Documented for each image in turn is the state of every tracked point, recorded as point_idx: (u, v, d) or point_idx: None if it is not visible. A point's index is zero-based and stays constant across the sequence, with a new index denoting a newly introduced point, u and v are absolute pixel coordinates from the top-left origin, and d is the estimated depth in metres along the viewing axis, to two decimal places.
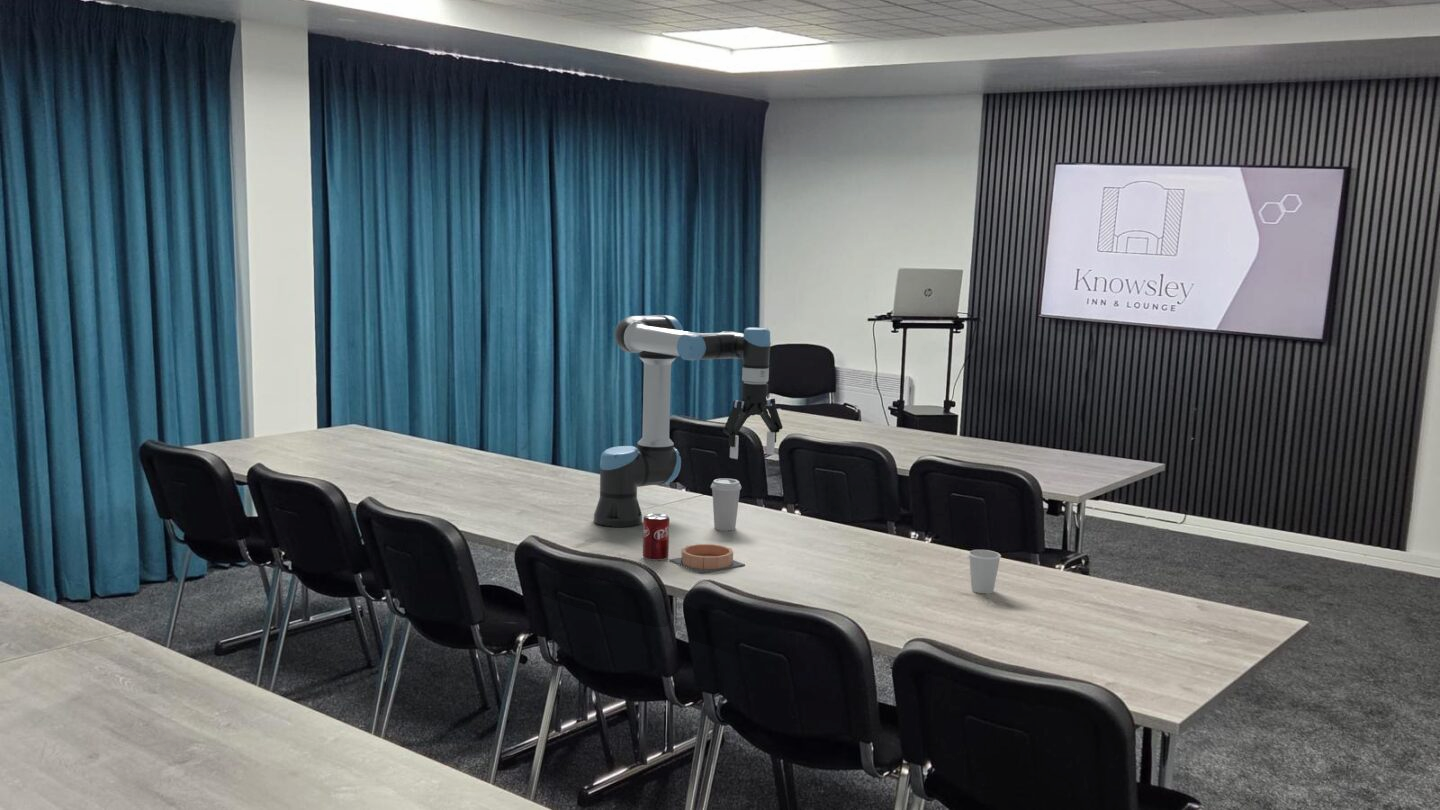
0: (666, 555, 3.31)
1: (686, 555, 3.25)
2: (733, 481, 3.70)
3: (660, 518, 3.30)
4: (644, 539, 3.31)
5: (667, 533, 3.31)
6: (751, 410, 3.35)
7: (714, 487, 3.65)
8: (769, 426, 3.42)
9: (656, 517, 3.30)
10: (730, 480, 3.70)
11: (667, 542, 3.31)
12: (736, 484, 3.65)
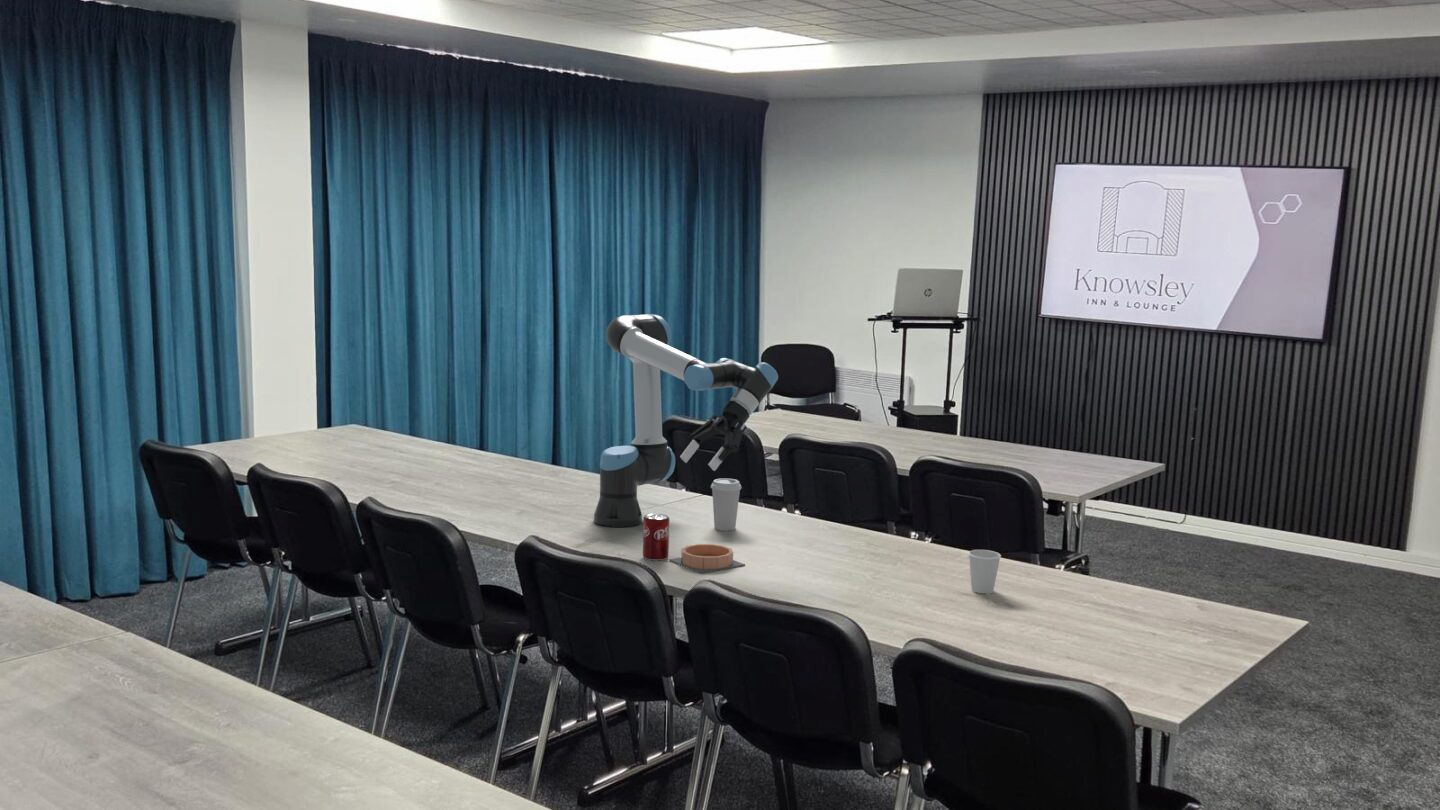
0: (666, 555, 3.31)
1: (686, 555, 3.25)
2: (733, 481, 3.70)
3: (660, 518, 3.30)
4: (644, 539, 3.31)
5: (667, 533, 3.31)
6: None
7: (714, 487, 3.65)
8: (701, 438, 3.45)
9: (656, 517, 3.30)
10: (730, 480, 3.70)
11: (667, 542, 3.31)
12: (736, 484, 3.65)
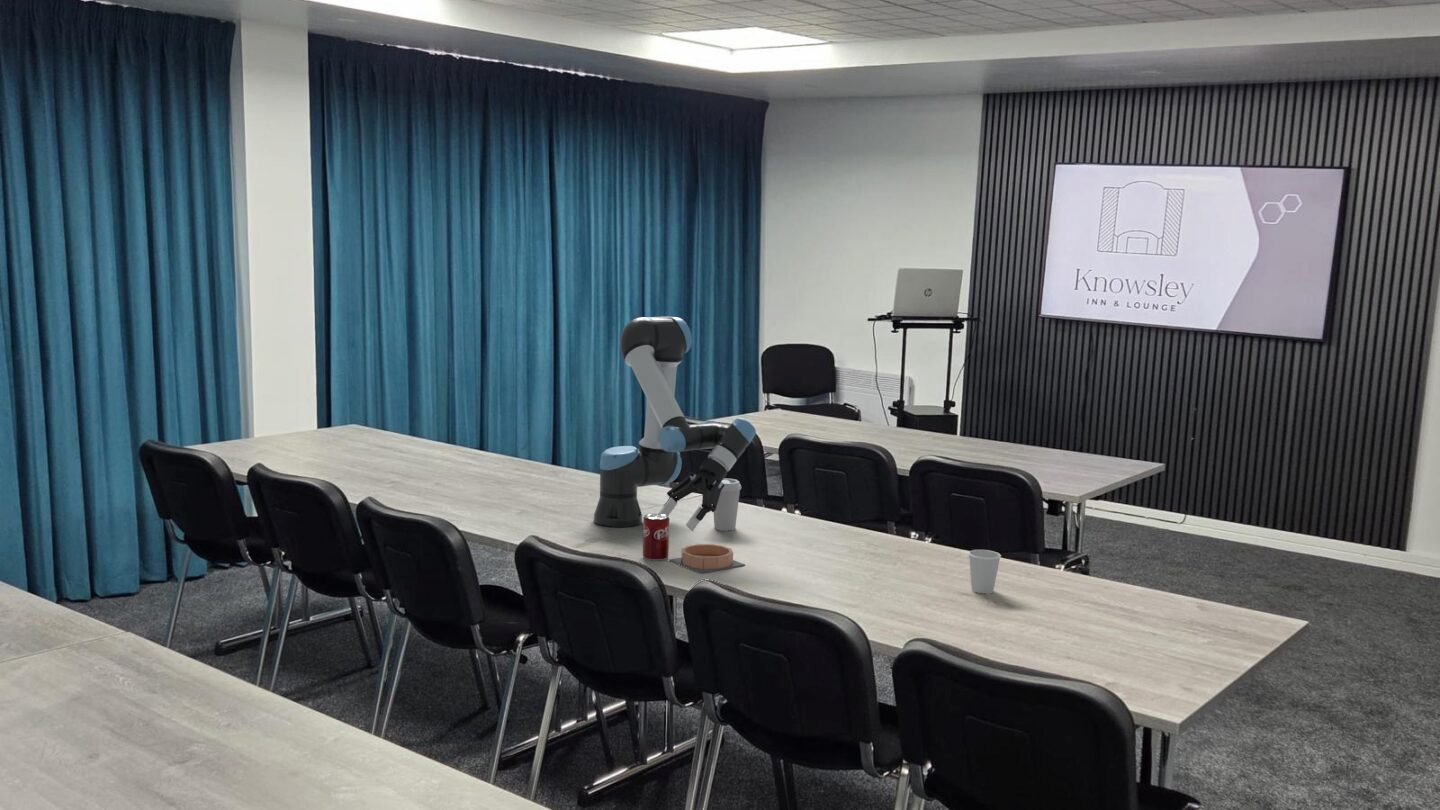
0: (666, 555, 3.31)
1: (686, 555, 3.25)
2: (733, 481, 3.70)
3: (660, 518, 3.30)
4: (644, 539, 3.31)
5: (667, 533, 3.31)
6: None
7: None
8: (678, 496, 3.41)
9: (656, 517, 3.30)
10: (730, 480, 3.70)
11: (667, 542, 3.31)
12: (736, 484, 3.65)
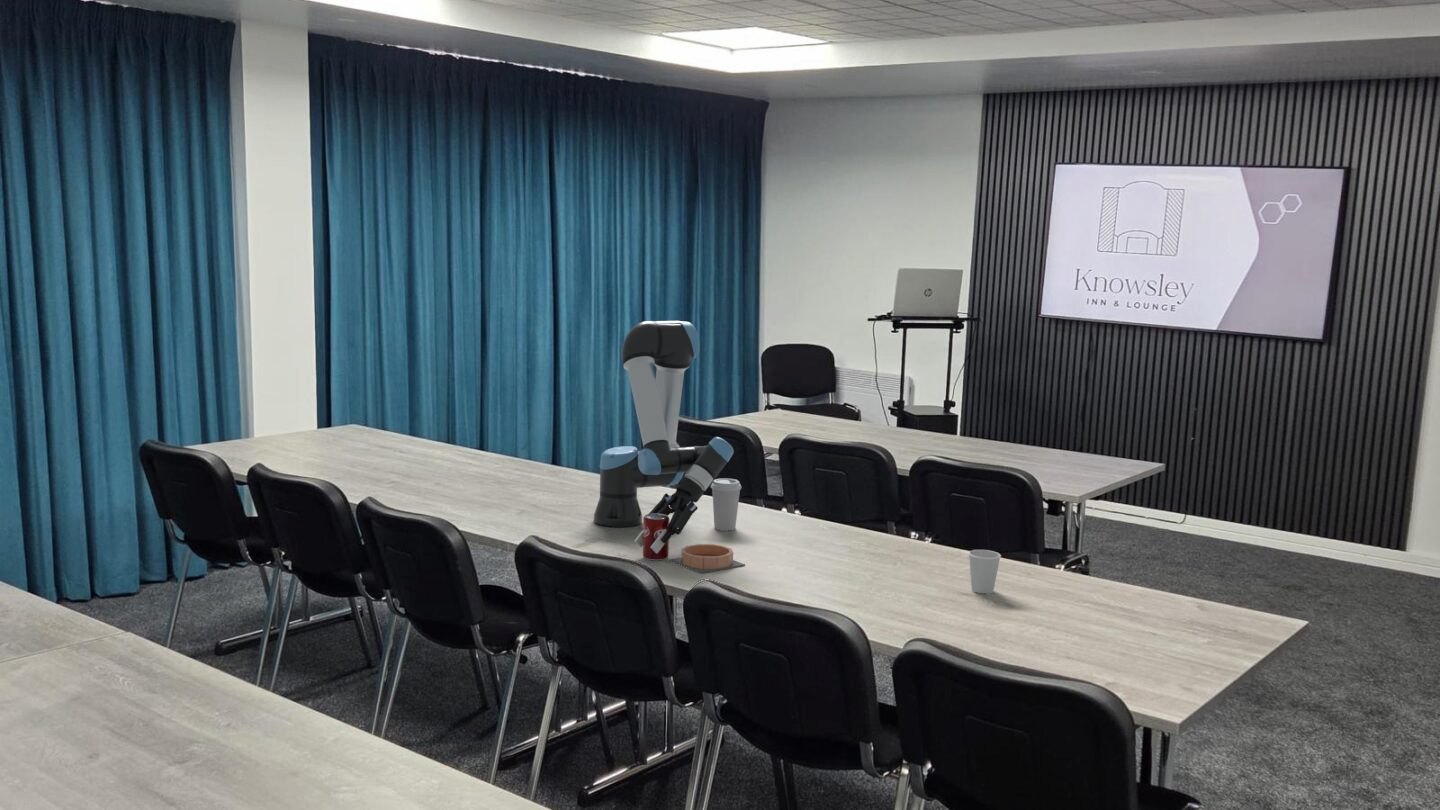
0: (666, 555, 3.31)
1: (686, 555, 3.25)
2: (733, 481, 3.70)
3: (660, 518, 3.30)
4: (644, 539, 3.31)
5: None
6: None
7: (714, 487, 3.65)
8: None
9: (656, 517, 3.30)
10: (730, 480, 3.70)
11: (667, 542, 3.31)
12: (736, 484, 3.65)
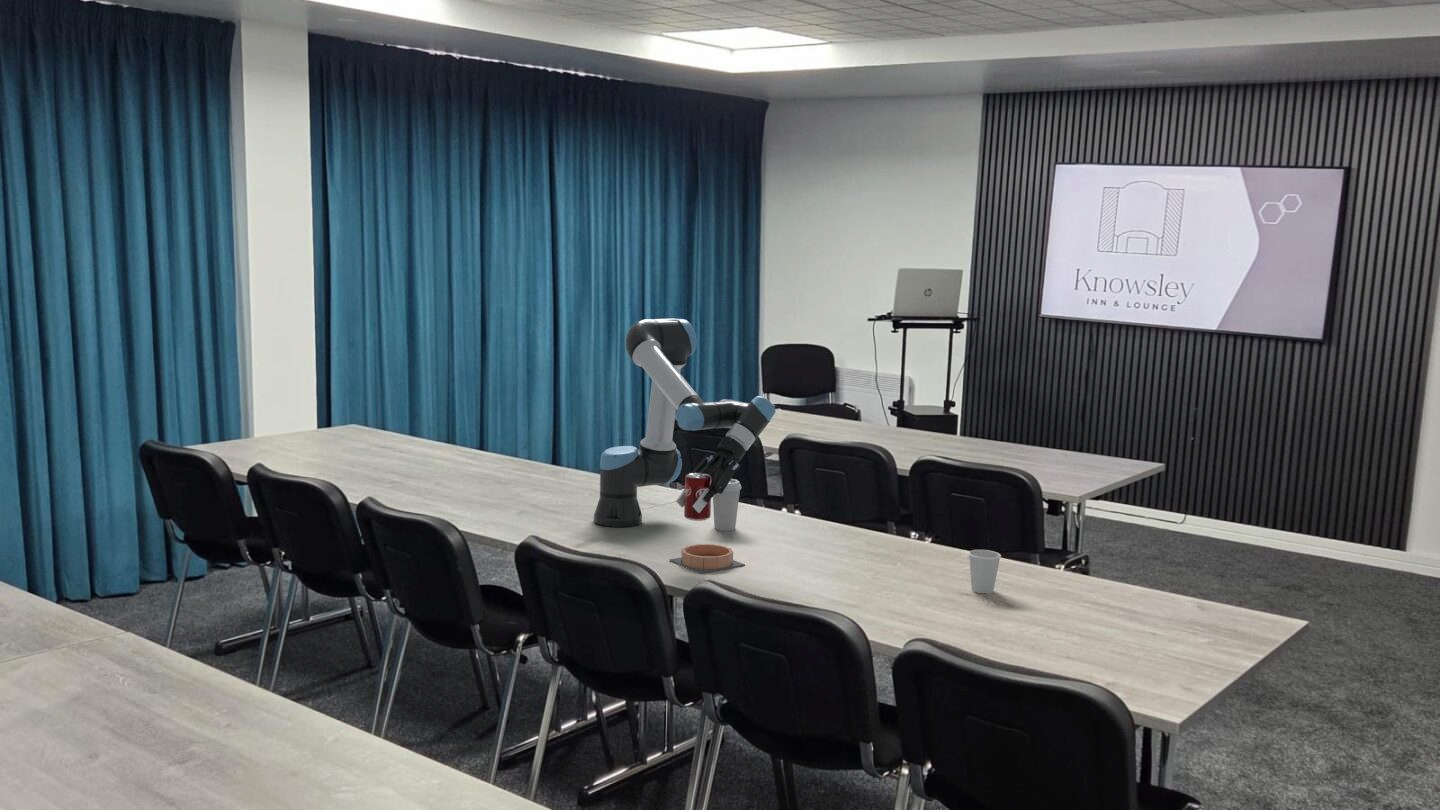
0: (708, 515, 3.26)
1: (686, 555, 3.25)
2: (733, 481, 3.70)
3: (702, 477, 3.24)
4: (686, 499, 3.25)
5: None
6: None
7: None
8: None
9: (698, 476, 3.25)
10: (730, 480, 3.70)
11: (709, 502, 3.25)
12: (736, 484, 3.65)
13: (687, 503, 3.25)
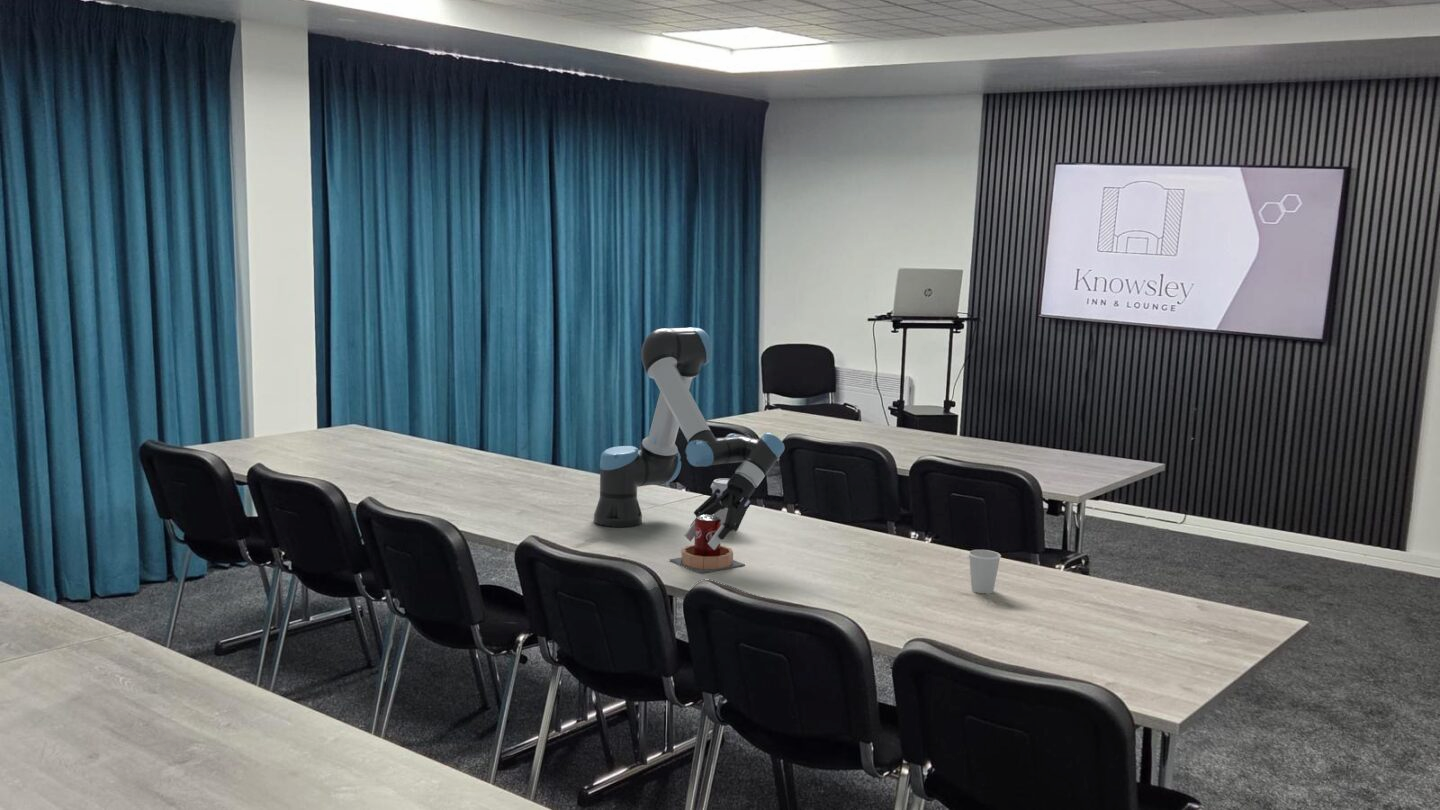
0: None
1: (686, 555, 3.25)
2: None
3: (712, 519, 3.26)
4: (696, 541, 3.27)
5: None
6: None
7: (714, 487, 3.65)
8: None
9: (708, 518, 3.26)
10: None
11: (719, 544, 3.27)
12: None
13: (697, 545, 3.26)
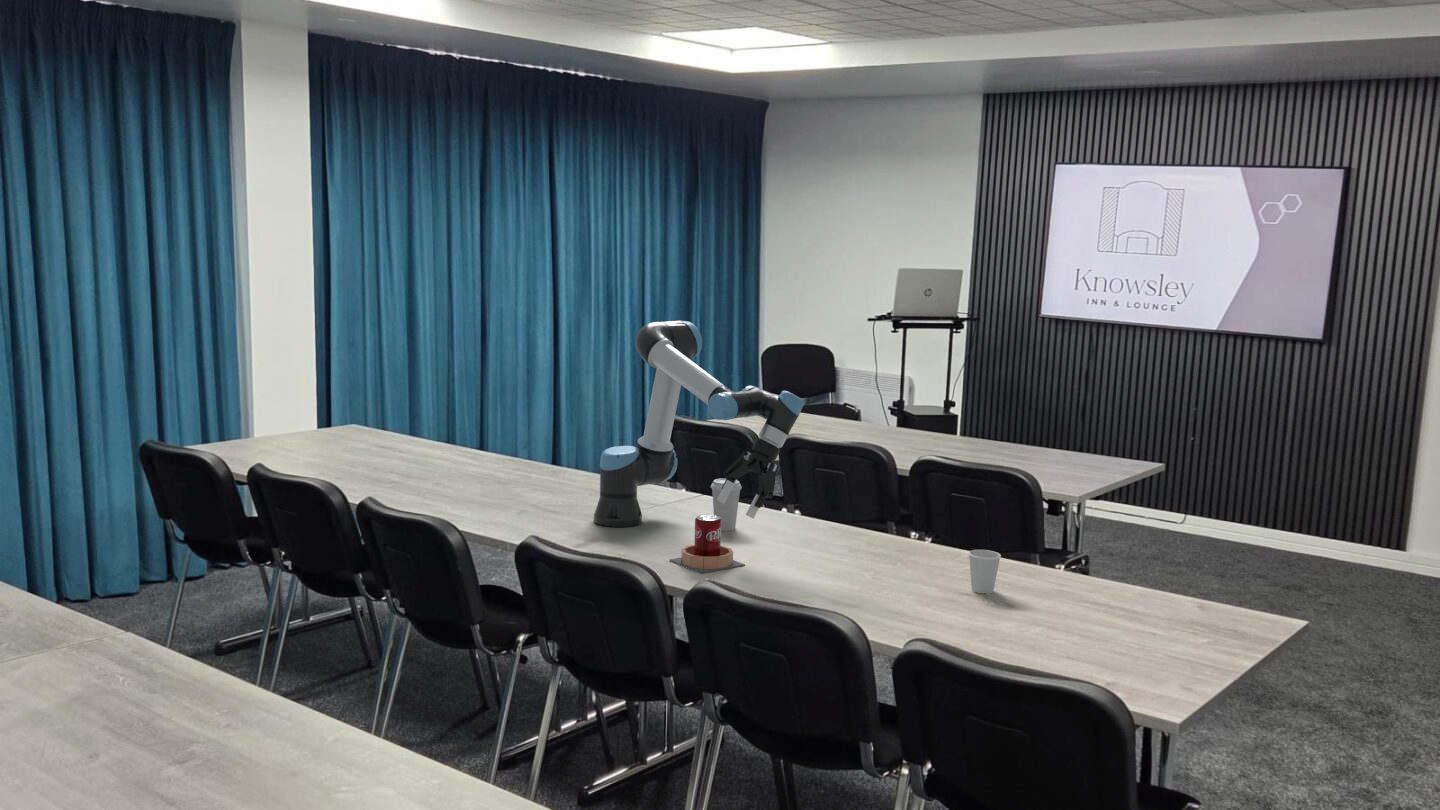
0: None
1: (686, 555, 3.25)
2: None
3: (712, 519, 3.26)
4: (696, 541, 3.27)
5: (719, 534, 3.27)
6: None
7: (714, 487, 3.65)
8: (735, 477, 3.42)
9: (708, 518, 3.26)
10: None
11: (719, 544, 3.27)
12: (736, 484, 3.65)
13: (697, 545, 3.26)
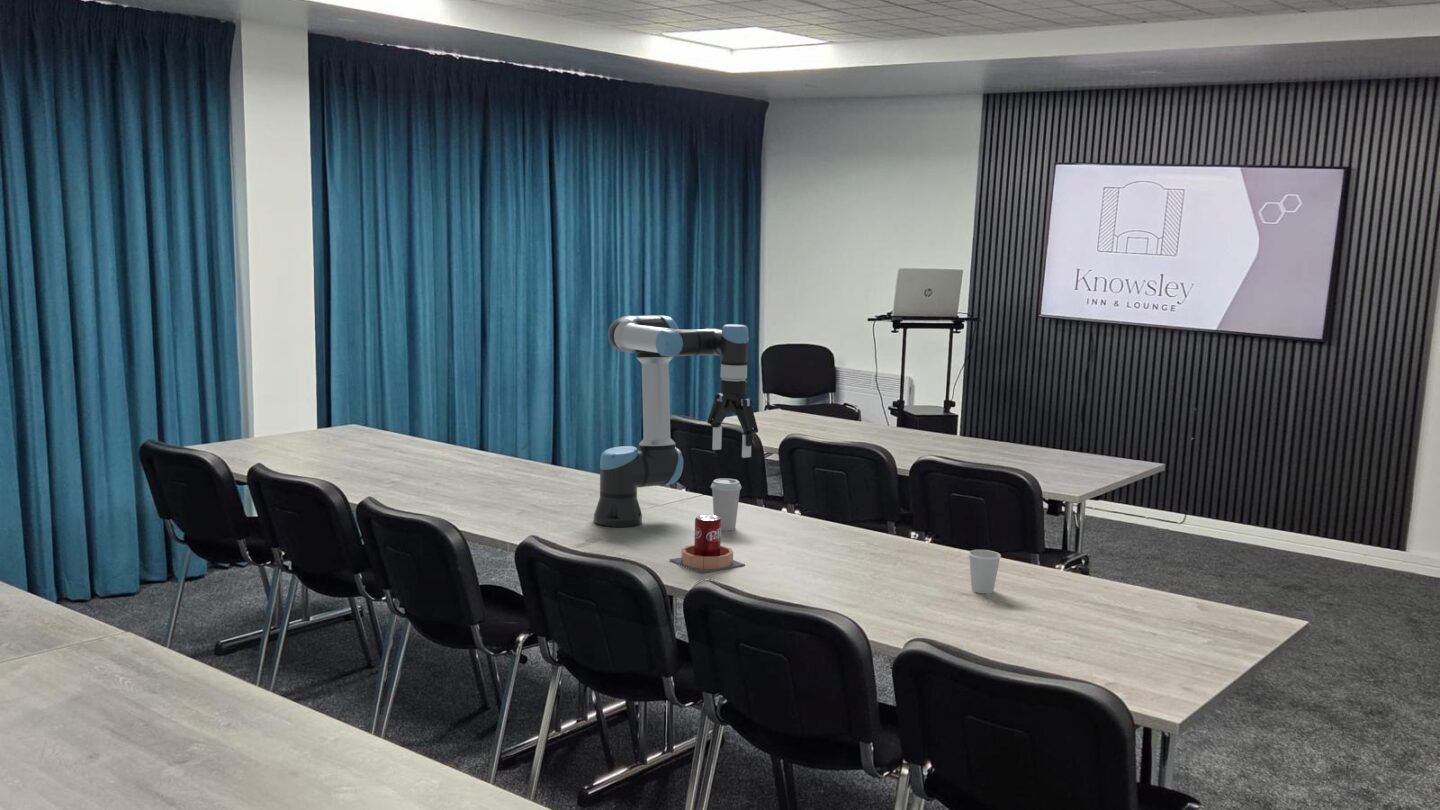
0: None
1: (686, 555, 3.25)
2: (733, 481, 3.70)
3: (712, 519, 3.26)
4: (696, 541, 3.27)
5: (719, 534, 3.27)
6: None
7: (714, 487, 3.65)
8: (719, 421, 3.42)
9: (708, 518, 3.26)
10: (730, 480, 3.70)
11: (719, 544, 3.27)
12: (736, 484, 3.65)
13: (697, 545, 3.26)
